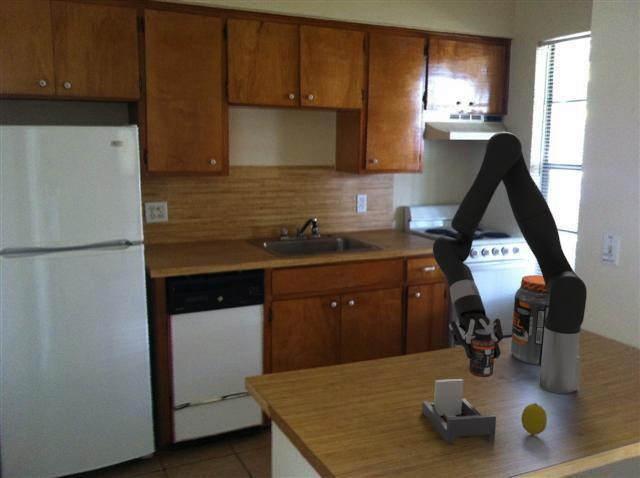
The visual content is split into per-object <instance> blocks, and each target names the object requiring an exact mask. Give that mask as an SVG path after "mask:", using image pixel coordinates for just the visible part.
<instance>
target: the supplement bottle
mask: <svg viewBox="0 0 640 478" xmlns="http://www.w3.org/2000/svg"><path fill="white" fill-rule="evenodd" d="M470 344H472V346H473V350H474V353H475V356H476V357H475V359H474V360H472V361H471V360H470V359H469V369H468V371H469V374H471V375H472V376H474V377H478V378H489V377H491V376H493V374H494V363H495V359H494V346H495V343H494V341H493V340H492V339H491V332H490V331H488V330H483V329H479V330H476V331H475V336H473V338H471V342H470Z"/></svg>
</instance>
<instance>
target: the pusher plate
mask: <svg viewBox="0 0 640 478" xmlns="http://www.w3.org/2000/svg"><path fill="white" fill-rule="evenodd" d="M434 383H435V384H434V395H433V396H434V398H433V399H434V400H433V402H434V410H435V411H436V412H437V413H438V414H439V415H440V417H442V416H443V417H444V418H445V419H446V420H447V418H448V417H458V415H462V412H461V409H462V399H463V391H464V379H463V378H455V379H454V378H452V379H436V380H434Z"/></svg>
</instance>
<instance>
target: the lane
mask: <svg viewBox="0 0 640 478" xmlns="http://www.w3.org/2000/svg"><path fill="white" fill-rule="evenodd" d="M421 409H422V410H421V413H422V414H423V415H424V417H425V419H427V420H428V422H429V423H430V425H432V427H433V428H434V429H435V431H436V432H437V433H438V434H439V436H440V437H441V438H442V440H443V441H444V443H446V444H447V445H448V446H450V445H453V444H454V438H456V437H459V438H460V437H467V436H480V435H481V436H482V435H483V436H484V438H486V439H487V440H488V441H489V442H495V436H496V426H497V425H496V424H497V416H496V415H495V414H494V413H492V414H491V413H489V414H481V413H480V412H479V411H478V410H477V409H476V408H475V407H474V406H473V405H472V404H471V403H470V402H469V401H468V400H467V399H466V398H465V397H464V398H463V397H462V409H461V414H463V415H462V416H457V417H448V418H447V419H446V421H445V420H444V419H443V418H442V416H440V415H439V414H438V413H437V412H436V411H435V410H434V401H433V402H429V401H428V400H423V401H422V407H421Z"/></svg>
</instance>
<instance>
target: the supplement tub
mask: <svg viewBox="0 0 640 478" xmlns="http://www.w3.org/2000/svg"><path fill="white" fill-rule="evenodd" d="M549 300H550V296H549V294H548V292H547V289H546V286H545V282H544V279H543V275H539V274H537V275H536V274H531V275H525V276H523V277H522V278H521V281H520V287H519V288H517V290H516V291H515V294H514V301H513V304H514V305H513V314H512V315H513V316H512V327H511V328H512V329H511V342H510V353H511V354H512V356H513V357H514V358H516V359H517V360H520V361H522V362H523V363H527V364H531V365H537V366H541V359H542V348H543V337H544V326H545V318H546V316H547V315H548V309H549Z"/></svg>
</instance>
